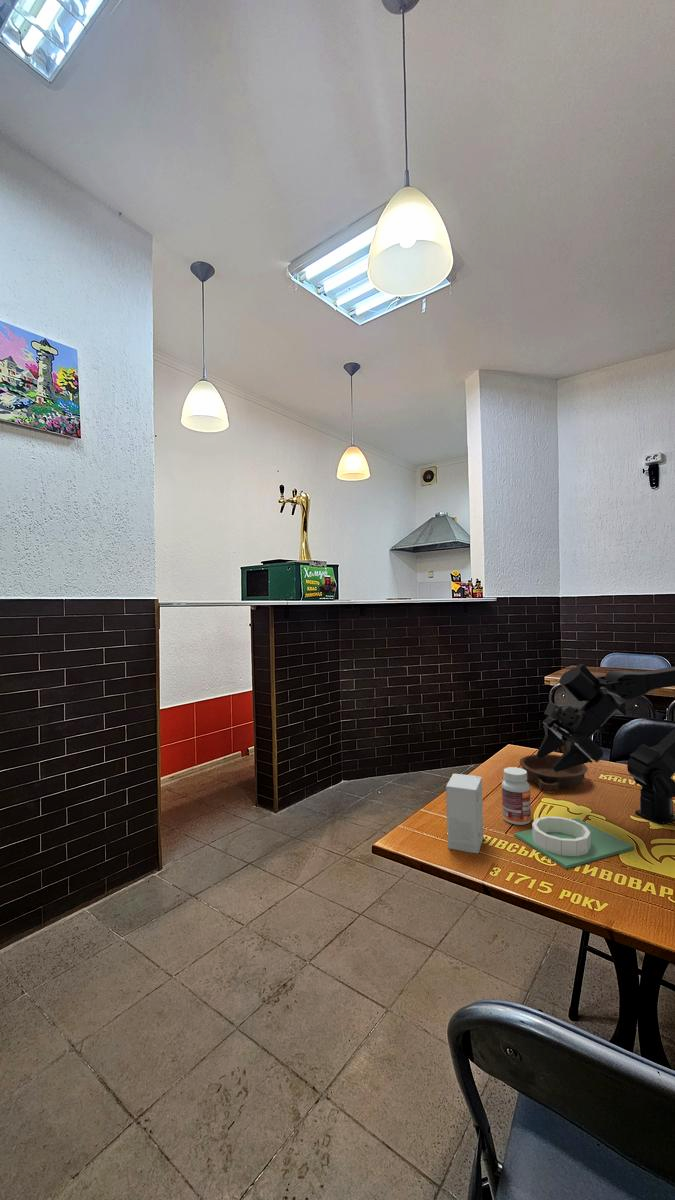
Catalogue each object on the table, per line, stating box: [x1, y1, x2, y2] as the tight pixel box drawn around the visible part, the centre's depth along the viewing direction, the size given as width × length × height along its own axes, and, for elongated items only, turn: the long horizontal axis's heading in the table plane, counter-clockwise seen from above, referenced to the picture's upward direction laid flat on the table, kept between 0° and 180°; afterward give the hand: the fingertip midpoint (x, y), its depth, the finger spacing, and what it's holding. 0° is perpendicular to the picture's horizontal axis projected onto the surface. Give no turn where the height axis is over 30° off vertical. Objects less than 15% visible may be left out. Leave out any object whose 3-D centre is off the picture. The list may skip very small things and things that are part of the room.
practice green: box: [513, 815, 635, 870], centre depth 101 cm, size 18×14×4 cm
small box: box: [445, 773, 484, 854], centre depth 102 cm, size 8×6×13 cm
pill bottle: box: [501, 766, 532, 826], centre depth 112 cm, size 6×6×11 cm
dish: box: [519, 754, 589, 791], centre depth 135 cm, size 18×22×5 cm
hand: (545, 763), depth 112 cm, fingers open, 9 cm apart
